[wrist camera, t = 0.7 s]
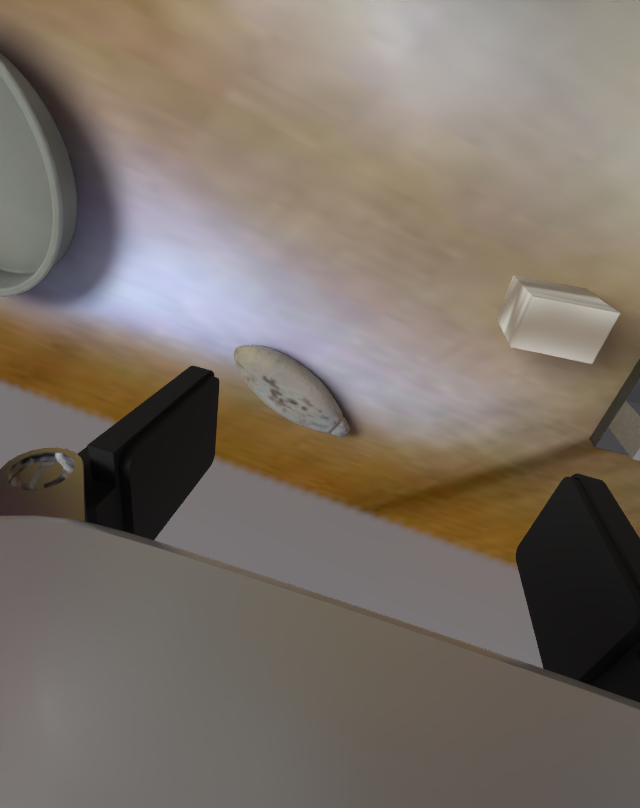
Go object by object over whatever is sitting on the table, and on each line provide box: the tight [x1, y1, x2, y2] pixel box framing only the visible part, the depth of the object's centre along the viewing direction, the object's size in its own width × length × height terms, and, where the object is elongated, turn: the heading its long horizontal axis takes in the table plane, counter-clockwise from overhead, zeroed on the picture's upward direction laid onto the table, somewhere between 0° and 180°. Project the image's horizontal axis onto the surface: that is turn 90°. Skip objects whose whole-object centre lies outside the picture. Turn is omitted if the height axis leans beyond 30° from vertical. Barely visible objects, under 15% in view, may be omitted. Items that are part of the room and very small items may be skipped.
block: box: [497, 275, 620, 364], centre depth 32 cm, size 4×6×7 cm, turn 82°
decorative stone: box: [234, 345, 350, 437], centre depth 44 cm, size 6×16×3 cm, turn 55°
